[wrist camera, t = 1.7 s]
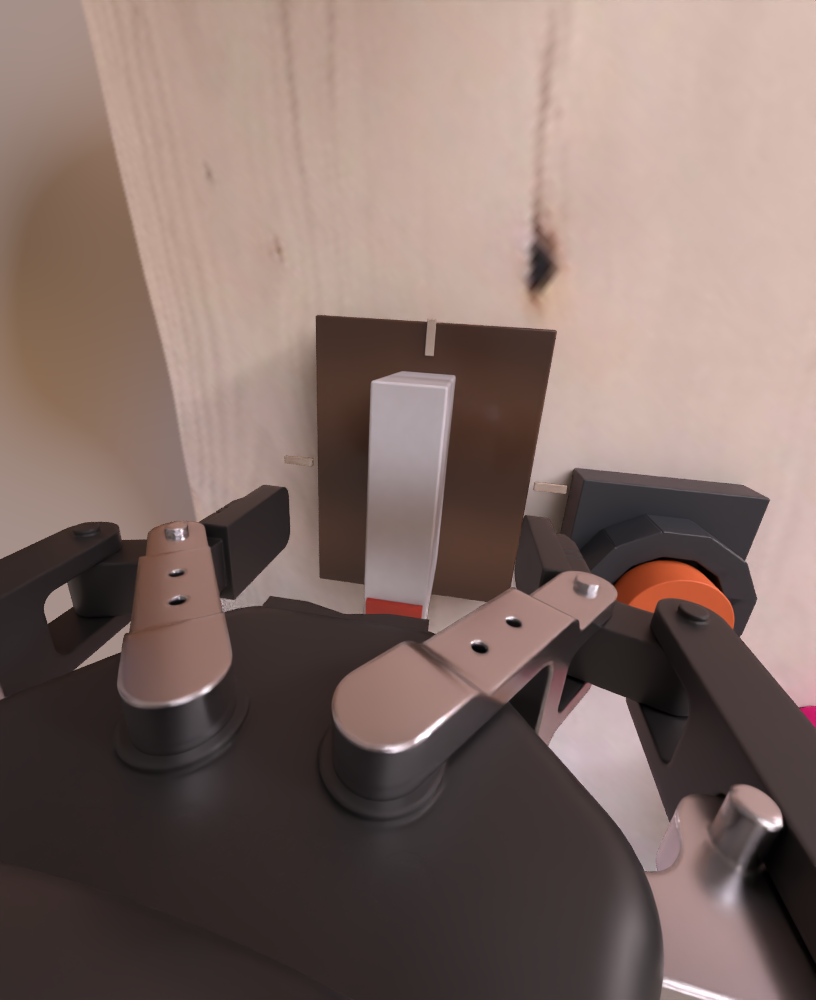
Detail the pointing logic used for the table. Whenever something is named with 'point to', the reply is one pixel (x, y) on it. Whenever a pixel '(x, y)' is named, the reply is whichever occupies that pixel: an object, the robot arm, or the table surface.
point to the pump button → (671, 587)
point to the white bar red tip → (405, 489)
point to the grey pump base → (666, 528)
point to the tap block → (472, 444)
